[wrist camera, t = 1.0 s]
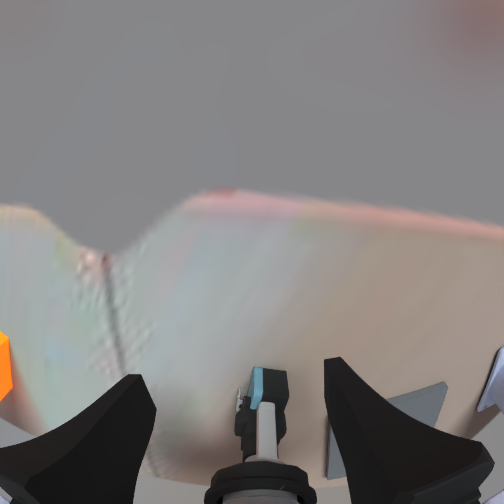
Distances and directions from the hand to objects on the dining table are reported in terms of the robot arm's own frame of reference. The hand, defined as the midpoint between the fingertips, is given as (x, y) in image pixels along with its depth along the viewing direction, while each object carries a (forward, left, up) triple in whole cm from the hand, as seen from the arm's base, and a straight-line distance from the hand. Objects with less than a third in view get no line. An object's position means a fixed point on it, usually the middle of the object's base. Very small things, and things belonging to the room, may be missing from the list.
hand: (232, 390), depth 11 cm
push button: (0, +7, -7) cm, 10 cm away
